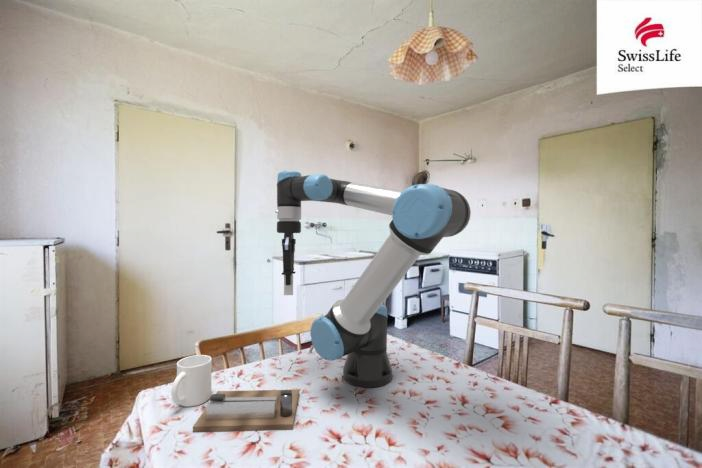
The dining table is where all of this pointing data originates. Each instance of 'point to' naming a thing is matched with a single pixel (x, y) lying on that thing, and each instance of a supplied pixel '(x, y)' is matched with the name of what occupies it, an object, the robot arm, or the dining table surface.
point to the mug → (192, 381)
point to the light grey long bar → (240, 399)
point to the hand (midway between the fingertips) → (288, 294)
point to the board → (250, 424)
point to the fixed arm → (249, 409)
